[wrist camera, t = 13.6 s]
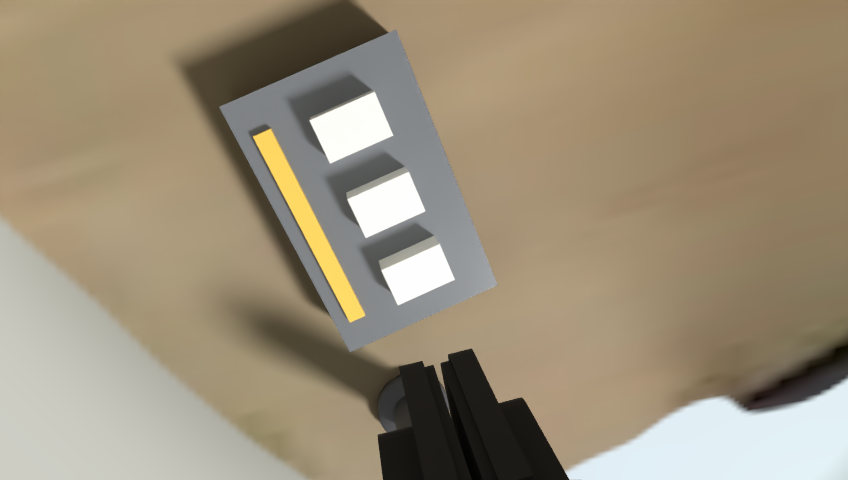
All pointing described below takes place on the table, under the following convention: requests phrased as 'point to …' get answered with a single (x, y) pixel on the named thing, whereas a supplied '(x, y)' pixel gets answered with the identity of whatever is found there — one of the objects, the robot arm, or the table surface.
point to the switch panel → (360, 169)
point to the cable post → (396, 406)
